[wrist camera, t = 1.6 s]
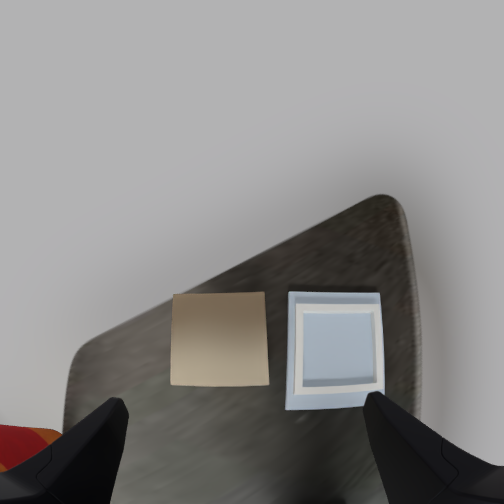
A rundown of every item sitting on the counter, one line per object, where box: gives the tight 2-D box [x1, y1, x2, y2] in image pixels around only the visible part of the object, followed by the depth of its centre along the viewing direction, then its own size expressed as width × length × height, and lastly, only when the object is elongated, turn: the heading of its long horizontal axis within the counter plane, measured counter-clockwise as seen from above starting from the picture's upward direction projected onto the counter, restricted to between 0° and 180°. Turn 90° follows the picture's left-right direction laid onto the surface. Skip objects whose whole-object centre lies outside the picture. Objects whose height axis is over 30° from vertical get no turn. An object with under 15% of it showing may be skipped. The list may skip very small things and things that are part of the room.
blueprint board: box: [285, 291, 385, 410], centre depth 22 cm, size 10×8×2 cm
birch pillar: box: [171, 292, 269, 386], centre depth 17 cm, size 4×4×11 cm
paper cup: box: [0, 425, 62, 472], centre depth 11 cm, size 8×8×14 cm
